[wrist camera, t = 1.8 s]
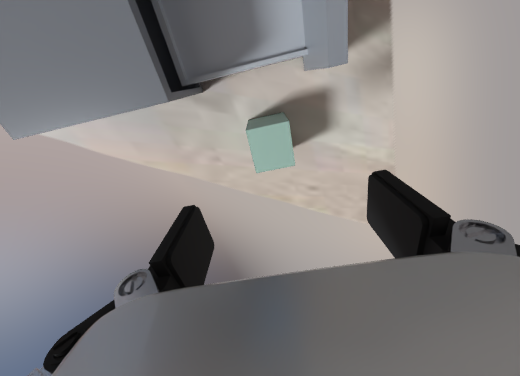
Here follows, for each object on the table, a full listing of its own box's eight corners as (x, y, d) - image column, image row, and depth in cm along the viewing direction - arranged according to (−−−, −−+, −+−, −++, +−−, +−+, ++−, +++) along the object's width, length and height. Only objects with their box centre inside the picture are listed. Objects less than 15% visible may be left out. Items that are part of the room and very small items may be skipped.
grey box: (149, -76, 15) (29, -243, 7) (203, 92, 21) (168, 101, 13) (17, -30, 17) (-210, -129, 9) (101, 117, 22) (13, 139, 14)
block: (248, 120, 23) (245, 130, 18) (283, 112, 22) (288, 120, 18) (256, 155, 25) (256, 173, 20) (288, 149, 24) (295, 165, 20)
